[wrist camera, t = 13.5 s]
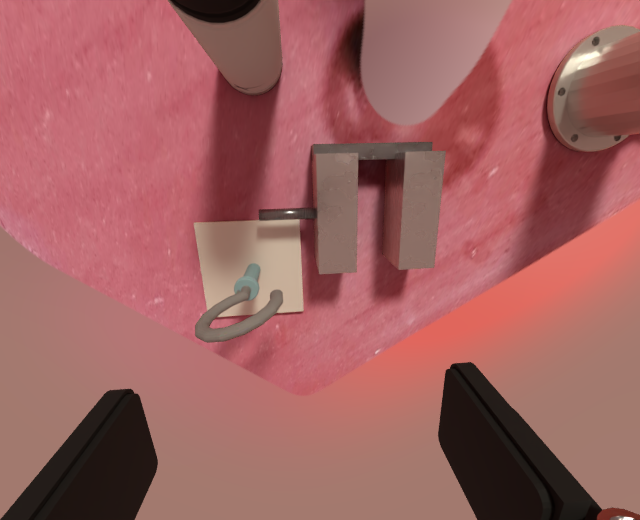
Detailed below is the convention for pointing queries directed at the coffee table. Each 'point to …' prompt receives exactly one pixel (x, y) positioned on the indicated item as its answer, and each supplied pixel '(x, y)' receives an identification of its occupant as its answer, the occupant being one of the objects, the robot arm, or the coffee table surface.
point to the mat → (244, 249)
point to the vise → (399, 203)
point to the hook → (244, 291)
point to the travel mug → (238, 39)
